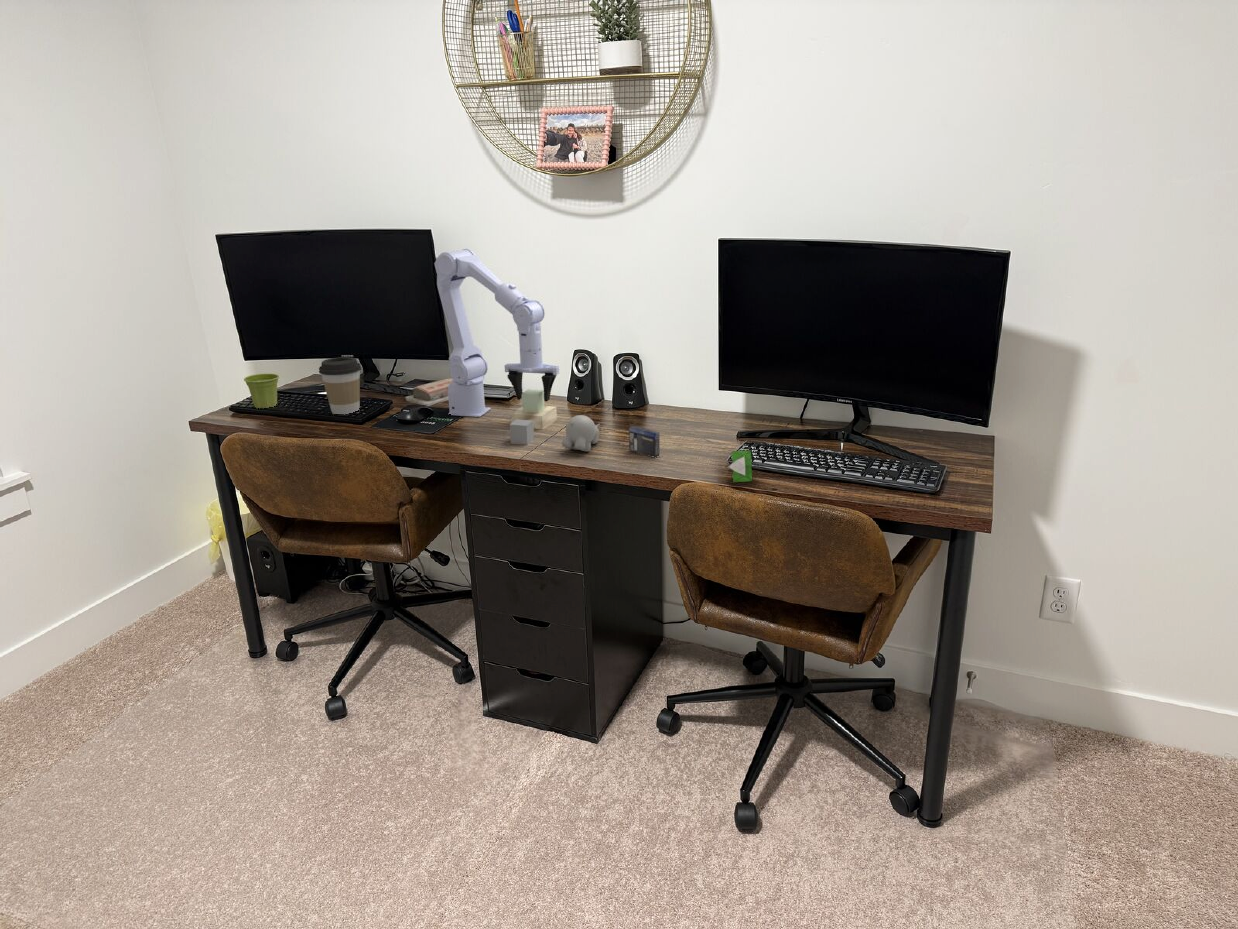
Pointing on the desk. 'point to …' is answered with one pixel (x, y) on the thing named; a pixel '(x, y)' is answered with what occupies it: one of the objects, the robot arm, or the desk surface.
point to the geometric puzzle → (741, 466)
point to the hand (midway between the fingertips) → (533, 399)
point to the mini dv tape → (644, 441)
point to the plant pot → (263, 389)
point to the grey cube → (521, 432)
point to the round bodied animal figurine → (581, 433)
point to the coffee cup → (342, 384)
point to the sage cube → (533, 401)
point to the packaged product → (430, 393)
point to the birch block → (537, 417)
